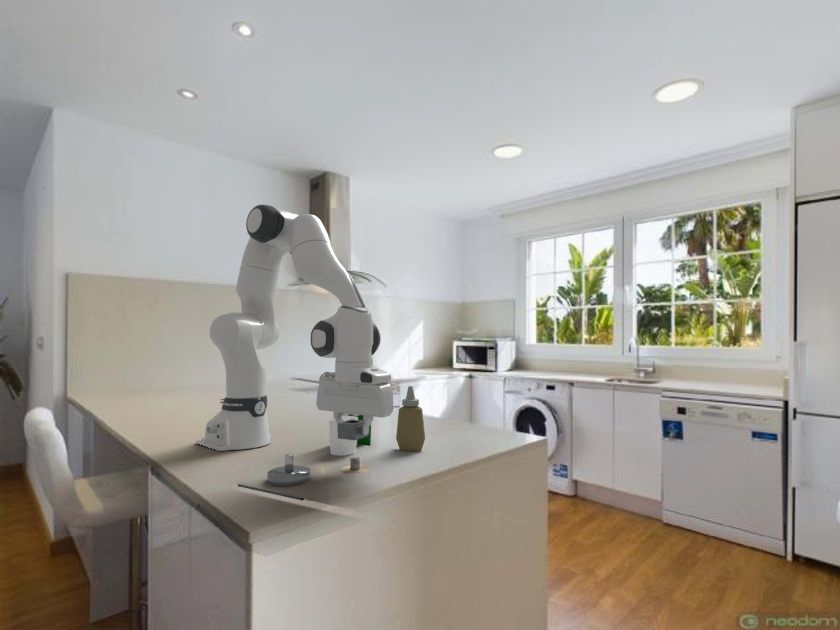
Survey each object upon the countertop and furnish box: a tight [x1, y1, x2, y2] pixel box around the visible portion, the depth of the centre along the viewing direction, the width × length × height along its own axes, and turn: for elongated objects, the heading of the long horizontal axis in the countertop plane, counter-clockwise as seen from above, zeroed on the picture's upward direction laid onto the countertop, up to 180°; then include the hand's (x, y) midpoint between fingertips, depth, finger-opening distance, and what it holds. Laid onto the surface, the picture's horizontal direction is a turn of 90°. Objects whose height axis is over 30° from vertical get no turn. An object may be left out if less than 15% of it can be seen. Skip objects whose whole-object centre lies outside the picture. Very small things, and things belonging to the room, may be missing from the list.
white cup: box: [327, 416, 358, 456], centre depth 121 cm, size 8×8×10 cm
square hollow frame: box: [338, 419, 368, 440], centre depth 106 cm, size 5×5×4 cm
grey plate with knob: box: [237, 453, 312, 501], centre depth 98 cm, size 18×12×6 cm, turn 62°
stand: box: [339, 456, 371, 475], centre depth 106 cm, size 7×7×4 cm
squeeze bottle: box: [395, 385, 426, 453], centre depth 125 cm, size 8×8×18 cm
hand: (352, 432), depth 106 cm, fingers closed on square hollow frame, 5 cm apart
